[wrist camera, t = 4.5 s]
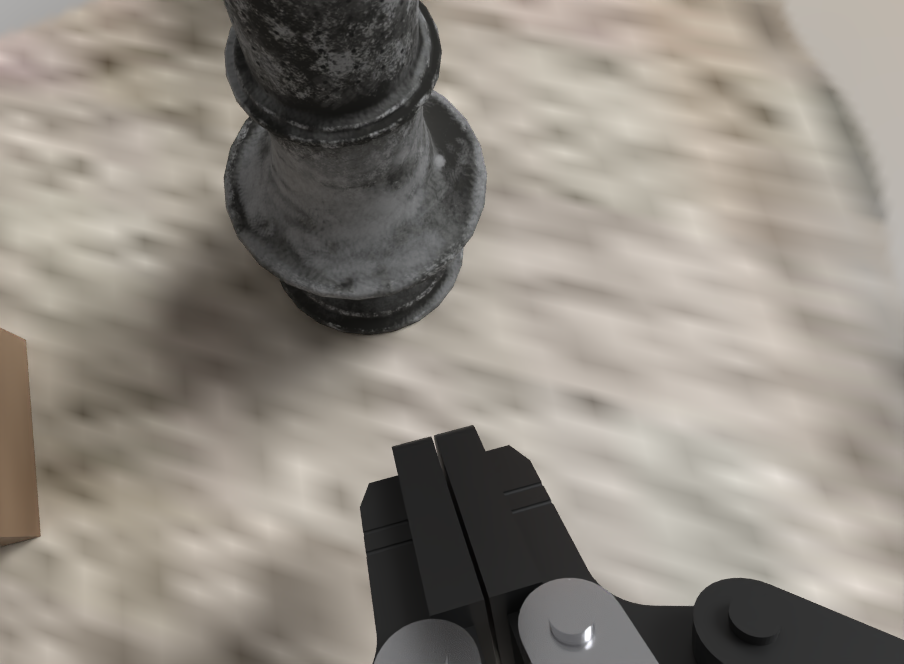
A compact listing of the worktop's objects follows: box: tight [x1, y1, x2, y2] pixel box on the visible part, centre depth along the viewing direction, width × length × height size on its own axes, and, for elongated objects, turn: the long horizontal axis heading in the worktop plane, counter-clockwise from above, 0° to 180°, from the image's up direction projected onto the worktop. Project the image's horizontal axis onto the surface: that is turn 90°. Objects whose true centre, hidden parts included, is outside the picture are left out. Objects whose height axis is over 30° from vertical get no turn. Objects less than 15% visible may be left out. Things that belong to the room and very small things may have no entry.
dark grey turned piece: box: [223, 0, 487, 335], centre depth 12 cm, size 6×6×12 cm
